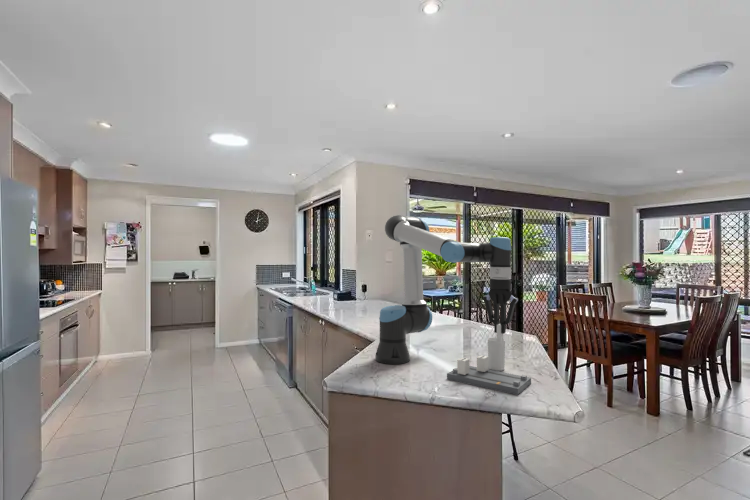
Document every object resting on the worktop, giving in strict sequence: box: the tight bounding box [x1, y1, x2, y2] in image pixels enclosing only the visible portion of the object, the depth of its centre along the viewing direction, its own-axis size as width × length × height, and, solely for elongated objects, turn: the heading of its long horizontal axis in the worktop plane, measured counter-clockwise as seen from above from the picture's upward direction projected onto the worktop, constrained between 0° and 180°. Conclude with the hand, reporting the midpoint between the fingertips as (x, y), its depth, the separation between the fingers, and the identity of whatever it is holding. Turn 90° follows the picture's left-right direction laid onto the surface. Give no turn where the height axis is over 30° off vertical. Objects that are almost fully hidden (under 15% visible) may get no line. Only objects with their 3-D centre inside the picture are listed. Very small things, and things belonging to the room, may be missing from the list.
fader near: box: [456, 357, 471, 375], centre depth 140 cm, size 3×4×5 cm
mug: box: [487, 337, 506, 372], centre depth 156 cm, size 10×7×12 cm, turn 162°
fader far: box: [476, 355, 489, 372], centre depth 144 cm, size 3×4×5 cm
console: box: [446, 365, 532, 396], centre depth 138 cm, size 26×15×3 cm, turn 52°
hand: (499, 341), depth 140 cm, fingers closed
